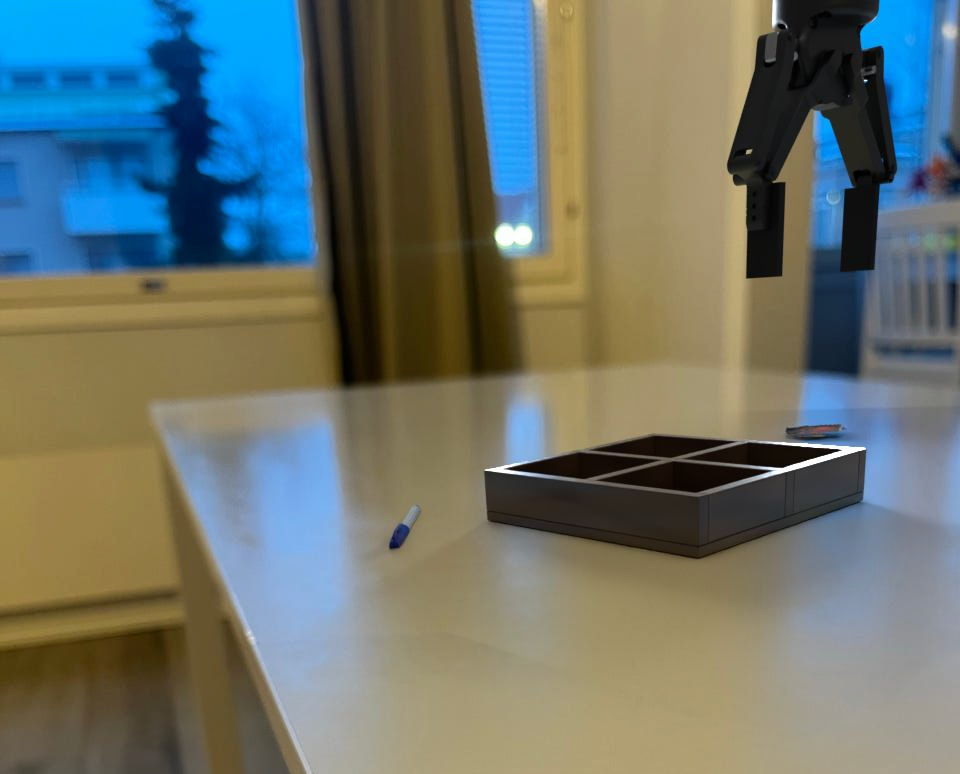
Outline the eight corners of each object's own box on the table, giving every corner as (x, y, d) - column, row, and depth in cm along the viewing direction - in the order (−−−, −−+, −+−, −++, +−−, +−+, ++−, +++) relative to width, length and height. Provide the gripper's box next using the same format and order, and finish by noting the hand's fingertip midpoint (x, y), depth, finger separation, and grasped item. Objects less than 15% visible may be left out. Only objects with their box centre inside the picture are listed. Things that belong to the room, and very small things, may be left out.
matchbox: (780, 430, 86) (781, 425, 86) (842, 427, 85) (842, 422, 85) (791, 439, 81) (791, 433, 81) (856, 435, 81) (856, 429, 81)
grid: (653, 476, 71) (653, 433, 70) (863, 500, 59) (866, 448, 58) (486, 520, 61) (483, 470, 60) (698, 558, 49) (698, 497, 48)
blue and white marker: (403, 552, 56) (402, 535, 56) (388, 553, 56) (386, 535, 56) (421, 512, 66) (420, 498, 65) (408, 513, 66) (407, 498, 66)
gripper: (866, 0, 83) (851, 271, 90) (678, -47, 67) (677, 283, 75) (957, -24, 77) (932, 266, 84) (774, -82, 62) (763, 278, 69)
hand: (812, 274), depth 79 cm, fingers open, 13 cm apart
